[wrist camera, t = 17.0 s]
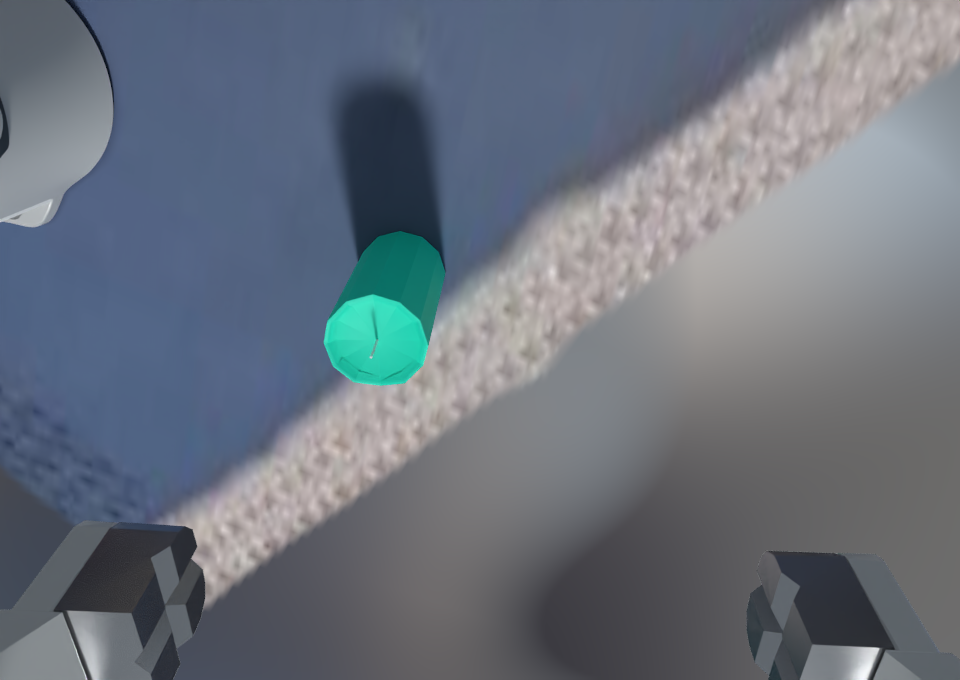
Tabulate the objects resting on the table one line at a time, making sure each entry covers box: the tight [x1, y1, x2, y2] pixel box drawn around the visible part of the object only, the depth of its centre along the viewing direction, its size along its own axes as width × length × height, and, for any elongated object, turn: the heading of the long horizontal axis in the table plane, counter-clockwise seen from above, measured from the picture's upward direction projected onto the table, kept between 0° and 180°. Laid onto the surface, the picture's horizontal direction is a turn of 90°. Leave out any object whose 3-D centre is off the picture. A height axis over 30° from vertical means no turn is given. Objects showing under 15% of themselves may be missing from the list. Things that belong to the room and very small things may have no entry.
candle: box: [324, 231, 445, 386], centre depth 45 cm, size 6×6×12 cm
